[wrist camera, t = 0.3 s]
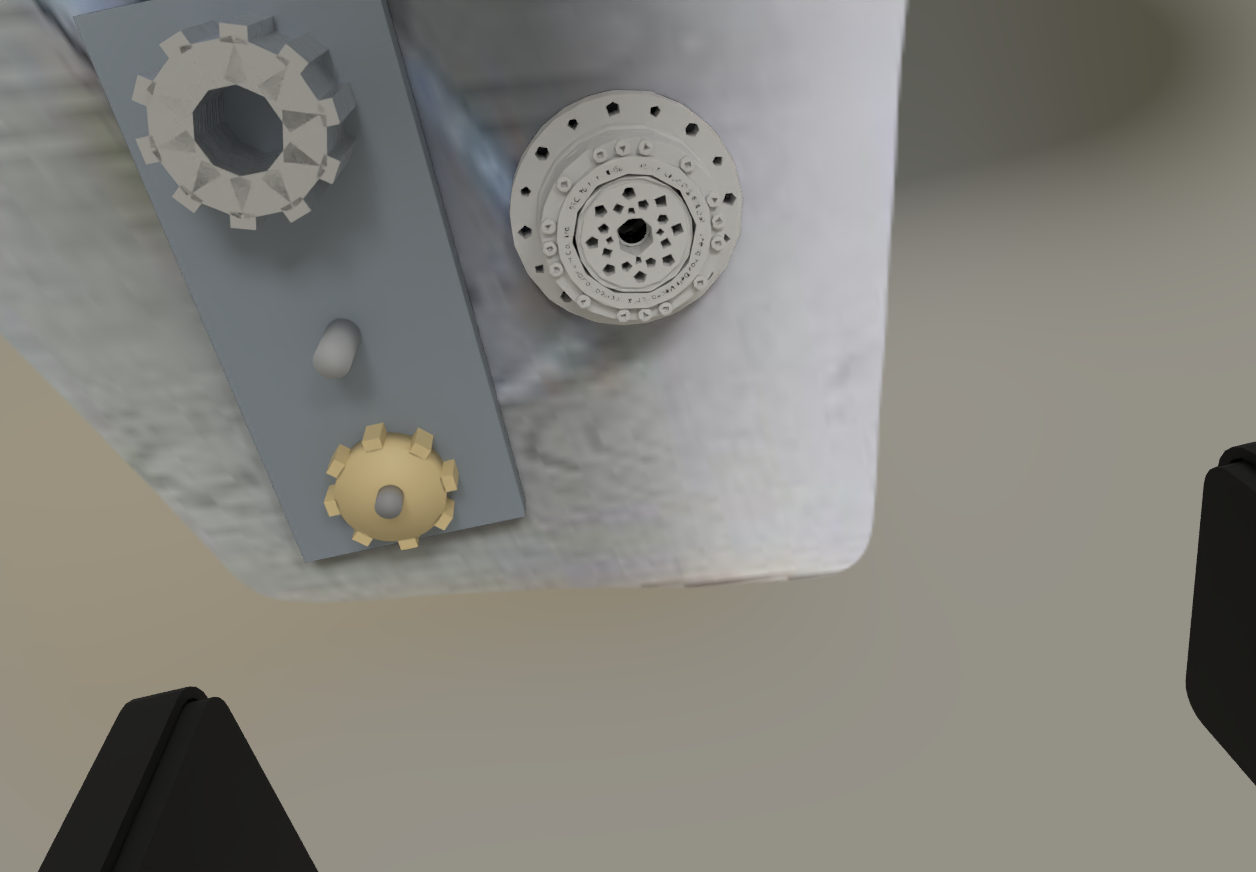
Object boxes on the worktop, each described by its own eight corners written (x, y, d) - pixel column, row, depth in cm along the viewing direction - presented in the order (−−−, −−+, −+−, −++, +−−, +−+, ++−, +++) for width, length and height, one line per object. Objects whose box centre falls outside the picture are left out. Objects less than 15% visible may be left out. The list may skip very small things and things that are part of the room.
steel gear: (138, 35, 36) (96, 47, 32) (323, -4, 36) (302, 4, 32) (210, 216, 39) (180, 246, 36) (380, 181, 39) (366, 207, 36)
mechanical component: (745, 295, 45) (726, 70, 40) (766, 331, 41) (749, 86, 36) (532, 330, 45) (489, 108, 40) (534, 369, 41) (486, 128, 36)
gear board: (88, 13, 37) (36, 24, 33) (373, -47, 37) (355, -43, 33) (311, 545, 49) (292, 600, 45) (525, 500, 49) (526, 551, 45)
